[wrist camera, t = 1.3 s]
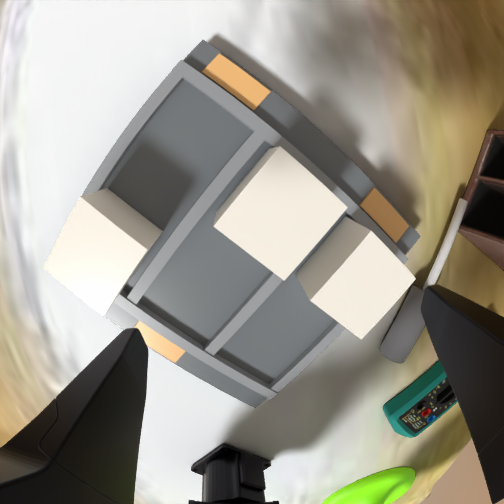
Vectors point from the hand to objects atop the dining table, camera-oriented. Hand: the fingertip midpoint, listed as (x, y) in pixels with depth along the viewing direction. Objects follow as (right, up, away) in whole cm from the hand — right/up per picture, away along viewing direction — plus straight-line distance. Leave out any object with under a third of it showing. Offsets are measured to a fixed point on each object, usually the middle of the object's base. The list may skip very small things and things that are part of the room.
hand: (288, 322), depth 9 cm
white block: (+5, +1, +12) cm, 13 cm away
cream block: (0, +5, +10) cm, 11 cm away
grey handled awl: (+12, -1, +14) cm, 18 cm away
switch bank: (-2, +2, +12) cm, 13 cm away
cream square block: (-10, +3, +10) cm, 14 cm away
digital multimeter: (+20, -11, +19) cm, 30 cm away
